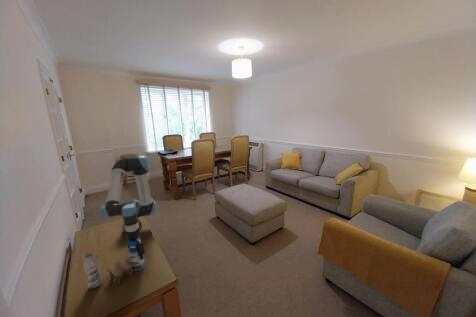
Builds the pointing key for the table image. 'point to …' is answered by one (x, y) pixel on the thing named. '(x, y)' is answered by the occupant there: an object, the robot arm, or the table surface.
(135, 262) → the blue lidded jar
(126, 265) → the brown piece
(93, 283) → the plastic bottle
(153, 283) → the table surface
